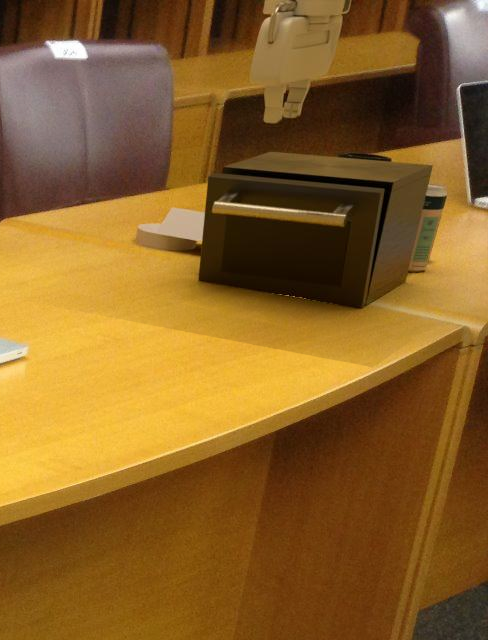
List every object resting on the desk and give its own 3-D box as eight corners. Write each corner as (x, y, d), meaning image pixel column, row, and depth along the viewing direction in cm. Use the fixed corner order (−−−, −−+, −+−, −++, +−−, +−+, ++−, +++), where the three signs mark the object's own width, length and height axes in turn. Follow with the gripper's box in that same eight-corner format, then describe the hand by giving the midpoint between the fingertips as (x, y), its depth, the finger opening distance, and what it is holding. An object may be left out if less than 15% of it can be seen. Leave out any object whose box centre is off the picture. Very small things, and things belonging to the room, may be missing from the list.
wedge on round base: (228, 256, 236) (149, 242, 244) (238, 212, 233) (157, 199, 241) (204, 265, 230) (123, 250, 238) (213, 219, 227) (131, 206, 235)
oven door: (349, 322, 201) (368, 206, 192) (184, 299, 214) (194, 188, 205) (365, 303, 205) (384, 188, 196) (202, 281, 217) (212, 172, 208)
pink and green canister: (399, 264, 229) (421, 181, 224) (431, 270, 226) (455, 186, 220) (384, 268, 227) (406, 184, 221) (416, 274, 223) (440, 190, 218)
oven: (365, 305, 205) (393, 182, 198) (202, 283, 218) (222, 166, 211) (405, 281, 219) (433, 165, 212) (249, 262, 232) (270, 151, 225)
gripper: (304, 2, 175) (280, 129, 182) (356, -4, 190) (332, 114, 196) (248, 1, 179) (226, 125, 185) (303, -5, 193) (281, 111, 199)
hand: (281, 120), depth 190 cm, fingers open, 6 cm apart
